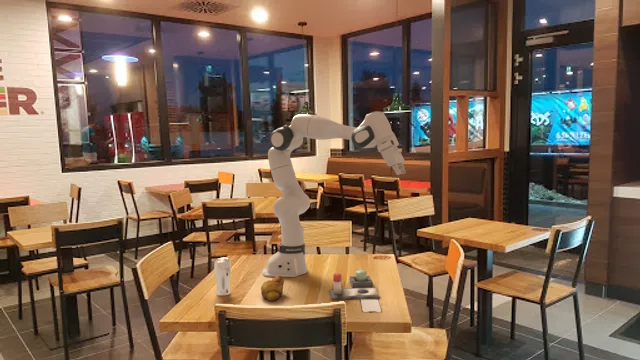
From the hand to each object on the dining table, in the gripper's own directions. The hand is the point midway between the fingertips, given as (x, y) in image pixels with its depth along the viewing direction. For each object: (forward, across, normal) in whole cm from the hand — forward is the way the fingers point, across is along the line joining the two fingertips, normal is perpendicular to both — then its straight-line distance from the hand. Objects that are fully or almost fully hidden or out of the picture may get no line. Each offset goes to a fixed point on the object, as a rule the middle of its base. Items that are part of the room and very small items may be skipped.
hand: (401, 174), depth 197 cm
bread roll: (+26, +27, -67) cm, 77 cm away
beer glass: (+16, +31, -86) cm, 93 cm away
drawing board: (+39, +13, -38) cm, 56 cm away
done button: (+36, +1, -37) cm, 51 cm away
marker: (+35, +16, -43) cm, 58 cm away
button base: (+38, +1, -38) cm, 54 cm away
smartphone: (+44, +22, -29) cm, 57 cm away
